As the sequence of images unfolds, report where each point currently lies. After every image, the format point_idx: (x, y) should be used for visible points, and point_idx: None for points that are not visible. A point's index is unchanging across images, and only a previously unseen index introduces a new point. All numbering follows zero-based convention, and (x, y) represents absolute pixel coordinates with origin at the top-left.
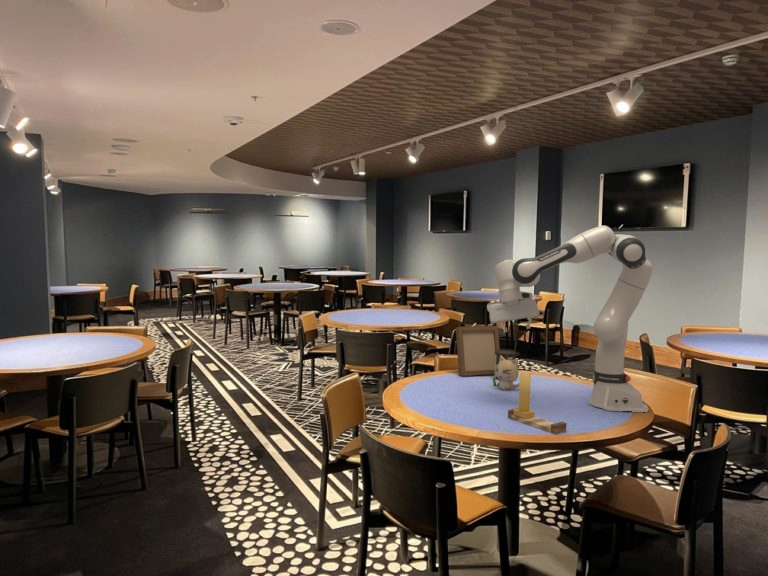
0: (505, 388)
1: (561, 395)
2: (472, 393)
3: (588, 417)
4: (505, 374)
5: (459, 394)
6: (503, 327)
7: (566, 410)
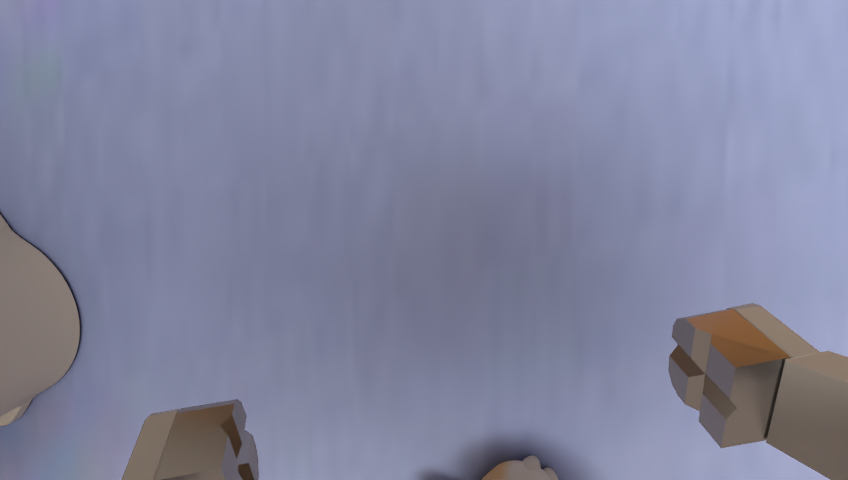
0: (522, 461)
1: None
2: None
3: (76, 45)
4: None
5: (802, 297)
6: (826, 364)
7: (188, 145)
